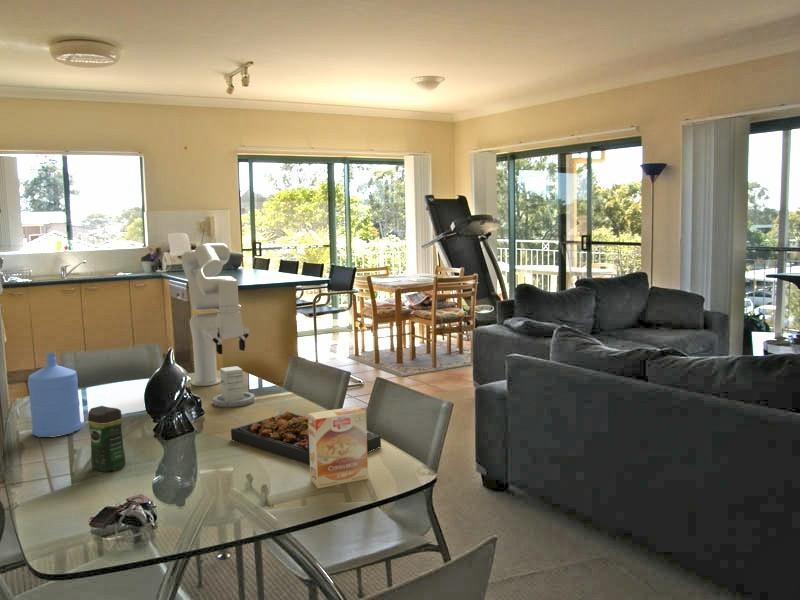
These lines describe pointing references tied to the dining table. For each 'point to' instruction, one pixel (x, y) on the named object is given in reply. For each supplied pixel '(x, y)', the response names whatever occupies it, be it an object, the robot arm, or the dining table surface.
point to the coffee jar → (106, 438)
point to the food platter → (285, 436)
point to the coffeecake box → (338, 446)
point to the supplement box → (232, 383)
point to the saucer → (228, 404)
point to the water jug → (54, 400)
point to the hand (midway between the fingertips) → (231, 351)
